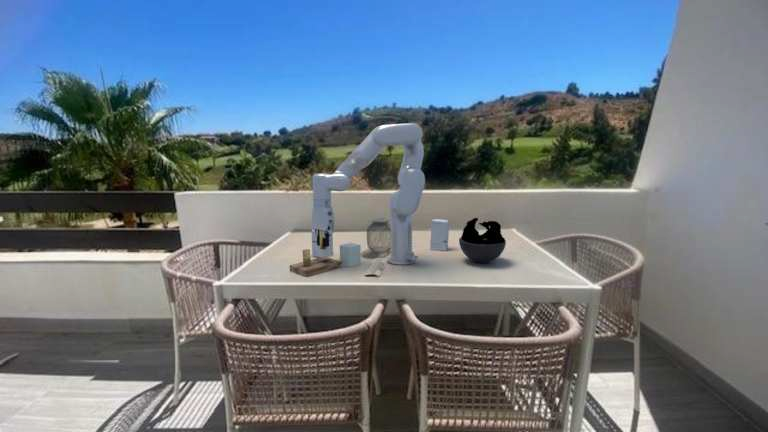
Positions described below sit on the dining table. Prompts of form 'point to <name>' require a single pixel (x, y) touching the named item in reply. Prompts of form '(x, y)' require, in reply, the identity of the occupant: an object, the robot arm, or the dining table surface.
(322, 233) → the brass pin
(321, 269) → the pegboard
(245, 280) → the dining table surface
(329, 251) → the supplement box
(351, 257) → the pale blue block
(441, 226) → the skincare box
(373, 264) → the newspaper
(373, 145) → the robot arm
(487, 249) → the bowl of black rocks
